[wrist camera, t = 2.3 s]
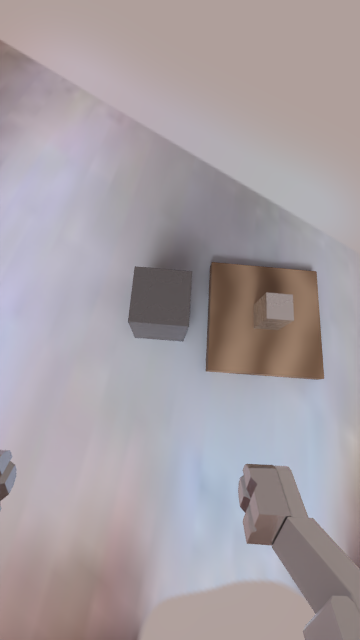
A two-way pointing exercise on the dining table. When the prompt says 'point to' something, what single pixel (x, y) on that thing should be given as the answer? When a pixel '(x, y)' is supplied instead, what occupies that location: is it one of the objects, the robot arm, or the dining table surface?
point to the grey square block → (160, 303)
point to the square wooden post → (273, 311)
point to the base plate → (262, 344)
